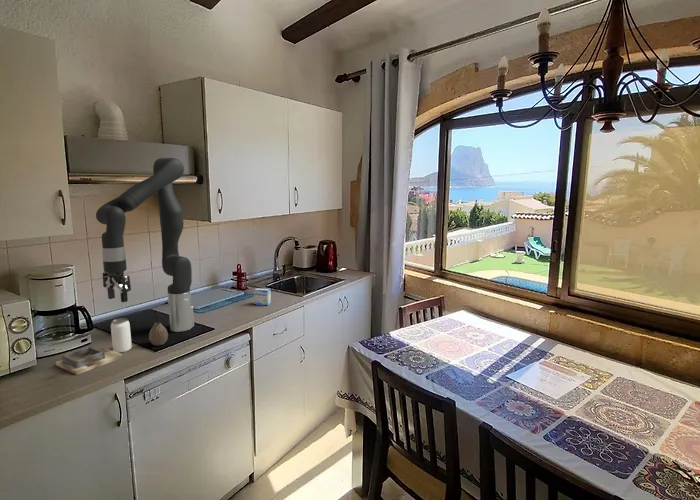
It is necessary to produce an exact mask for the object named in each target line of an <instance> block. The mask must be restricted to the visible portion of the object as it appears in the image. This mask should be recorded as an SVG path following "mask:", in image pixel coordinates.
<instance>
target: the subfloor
mask: <svg viewBox="0 0 700 500" xmlns="http://www.w3.org/2000/svg"><path fill="white" fill-rule="evenodd" d="M123 358H124V356H123V353H118V352H115V351H113V349H109V348H107V347H105V346H99V347H96V348H95V347H93V346H87V347H84V348H81V349H79V350H75V351H71V352H68V353H67V354H63V355H61V360H58V361H56V362H55V366H56V367H58V368H61V369H64V370H66V371H68V372H70V373H72V374H73V375H76V376H77V375H80V374H82V373H85V372H89V371H91V370H93V369H94V370H95V369H96V368H99V367H102V366H104V365H106V364H107V365H108V364H109V363H111V362H115V361H117V360H120V359H123Z"/></svg>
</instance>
